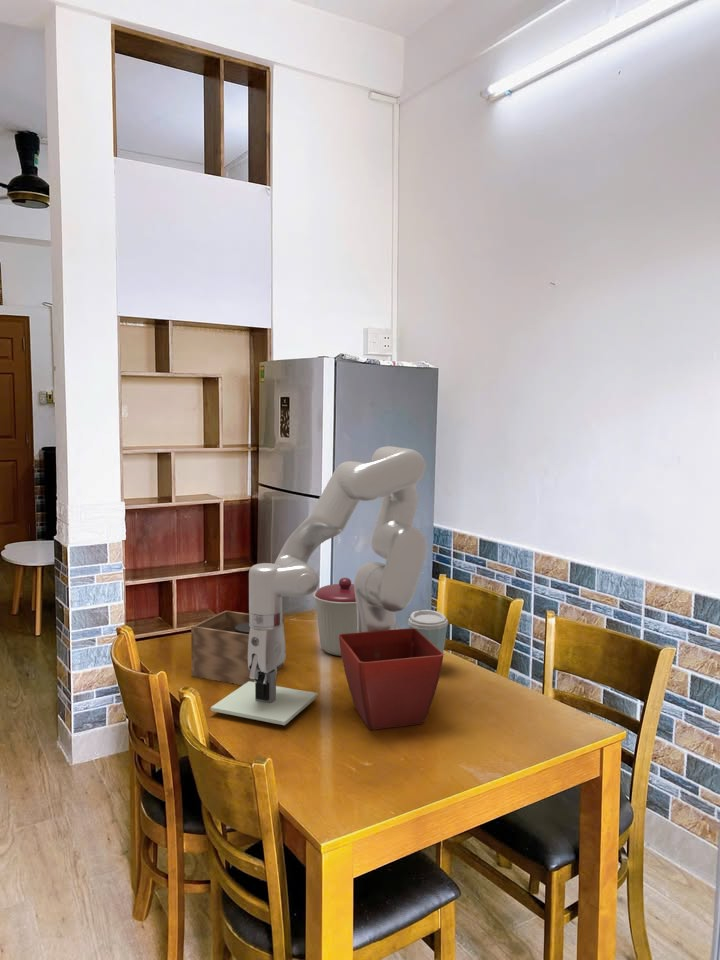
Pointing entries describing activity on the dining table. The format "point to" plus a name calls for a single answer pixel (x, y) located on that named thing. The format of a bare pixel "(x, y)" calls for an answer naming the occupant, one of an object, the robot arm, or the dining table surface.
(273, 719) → the lid
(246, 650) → the box
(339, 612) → the canister
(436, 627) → the disposable coffee cup
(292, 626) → the dining table surface
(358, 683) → the plant pot
